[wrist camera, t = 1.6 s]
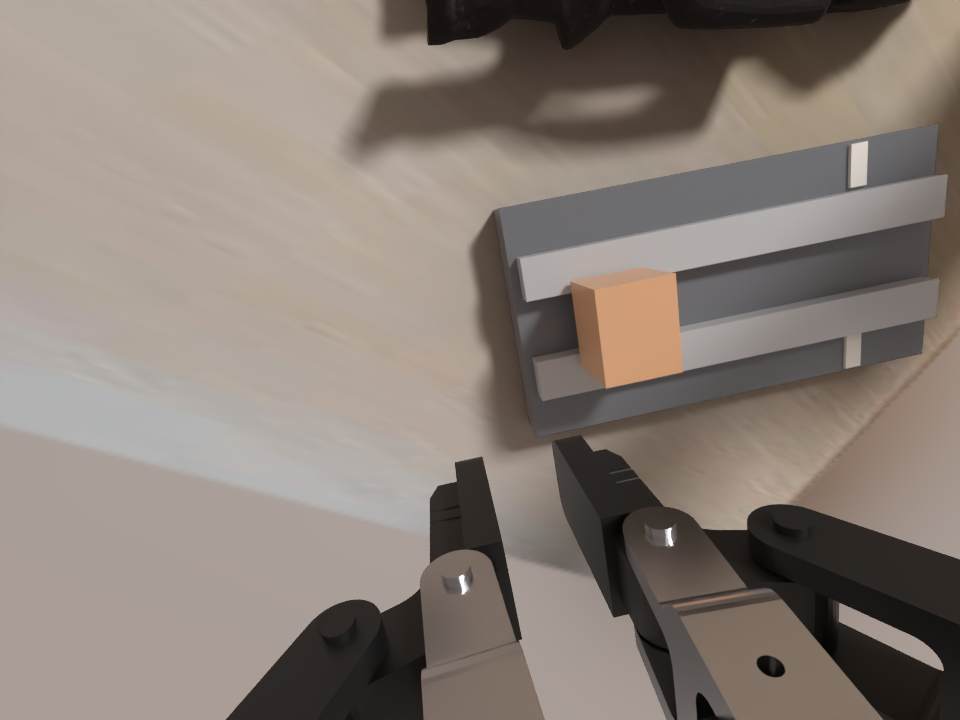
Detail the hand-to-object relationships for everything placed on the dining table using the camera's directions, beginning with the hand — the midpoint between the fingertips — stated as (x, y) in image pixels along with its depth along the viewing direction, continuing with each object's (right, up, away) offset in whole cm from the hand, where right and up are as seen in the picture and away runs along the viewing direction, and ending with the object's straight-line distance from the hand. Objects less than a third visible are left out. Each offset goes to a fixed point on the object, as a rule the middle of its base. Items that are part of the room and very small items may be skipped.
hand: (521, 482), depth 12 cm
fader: (+6, +6, +16) cm, 18 cm away
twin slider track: (+14, +8, +19) cm, 25 cm away
